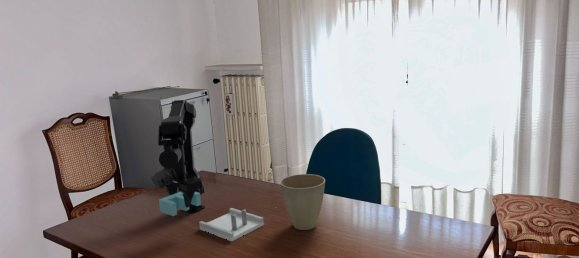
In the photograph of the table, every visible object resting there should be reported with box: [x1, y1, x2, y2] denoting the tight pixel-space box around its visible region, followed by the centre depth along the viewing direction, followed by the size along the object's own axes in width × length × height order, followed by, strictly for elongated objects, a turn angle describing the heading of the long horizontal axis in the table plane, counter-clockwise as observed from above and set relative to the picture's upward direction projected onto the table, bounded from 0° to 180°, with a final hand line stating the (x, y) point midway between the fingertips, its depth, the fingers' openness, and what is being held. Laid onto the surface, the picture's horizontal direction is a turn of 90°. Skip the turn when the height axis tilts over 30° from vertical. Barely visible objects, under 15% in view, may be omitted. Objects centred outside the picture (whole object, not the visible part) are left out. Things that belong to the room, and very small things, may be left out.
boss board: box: [199, 207, 265, 242], centre depth 155 cm, size 16×15×6 cm
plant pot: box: [279, 173, 326, 231], centre depth 152 cm, size 15×15×16 cm
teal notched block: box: [158, 191, 202, 217], centre depth 149 cm, size 7×11×4 cm, turn 139°
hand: (180, 204), depth 149 cm, fingers closed on teal notched block, 7 cm apart
